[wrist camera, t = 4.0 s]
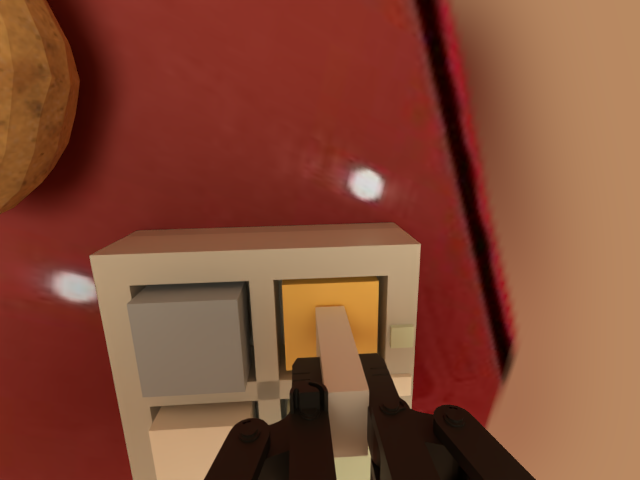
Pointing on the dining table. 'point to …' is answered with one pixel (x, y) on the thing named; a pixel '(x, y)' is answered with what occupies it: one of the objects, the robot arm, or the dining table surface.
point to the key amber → (328, 292)
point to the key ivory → (193, 437)
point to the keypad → (252, 304)
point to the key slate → (191, 338)
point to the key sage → (350, 465)
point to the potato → (33, 97)
